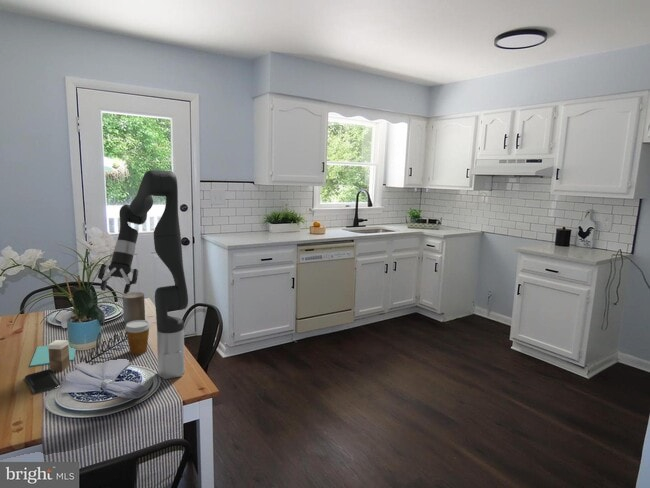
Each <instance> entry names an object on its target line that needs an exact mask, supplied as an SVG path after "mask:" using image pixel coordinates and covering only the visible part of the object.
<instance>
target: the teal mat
mask: <svg viewBox="0 0 650 488" xmlns="http://www.w3.org/2000/svg"><path fill="white" fill-rule="evenodd" d="M69 343H70V342H68V346H69ZM76 350H77V348H76V349H74V348H71V347H70V346H69V361H70V362H73V361H74V360H75V355H76ZM44 365H45V366H46V365H50V364H49V350H48V345H41V346H37V347H36V349H35V352H34V354H33V357H32V359H31V362H30V363H29V367H30V368H31V367H38V366H44Z"/></svg>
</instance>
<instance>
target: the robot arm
mask: <svg viewBox="0 0 650 488" xmlns="http://www.w3.org/2000/svg"><path fill="white" fill-rule="evenodd" d="M178 188H179V187H178V179H177V176H176V174H175V172H173V171H170V170H159V169H156V170H154V169H153V170H148V171H145V173H144V174H143V177H142V179H141V181H140V183H139V186H138V190H137V194H136V195H135V197H134V198H133V199H132V200H131V202H130V204H123V205H122V206H121V207H120V209H119V212H118V213H119V232H118V237H117V241H116V243H115V246H114V248H113V249H114V250H113V254H112V258H111V261H110V264H109V265H108V264H105V263H102V264H101V265H100V268H99V271H98V275H97V278H98V279H99V280H101V284H100V287H99V288H100V290H101V291H104V292H105V291H106V289H107V284H108V281H109V280H110V279H112V278H113V277H114V278H120V279H123V280H124V281H125V282H126V284H125V286H124V290H123V295H124V294H127V293H130V289H131V286H132V285H136V284H137V282H138V281H137V280H138V276H139V270H138V269H137V268H132V265H133V260H134V256H135V251H136V245H137V240H138V236H139V232H138V230H137V229H135V228H134V227H132V226H130V225H129V223H131V224H133V225H134V224H135V225H143V224H145V222H146V221H147V218H148V212H149V211H150V210H151V208H152V207H153V205H154V198H153V197H165V206H164V210H163V212H162V214H161V217H160V218H159V220H158V222H157V224H155V225H156V226H155V228H154V230H153V240H154V241H153V242H154V243H153V245H154V250H155V253H156V255H157V256H158V258H159V259H160V260H161V261H162V263H164V265H165V266H166V268H167V270H169V272H170V274H171V276H172V278H173V281H174V285H167V286H160V287H157V288H156V290H155V292H154V305H155V321H156V336H157V337H156V342H157V343H156V344H157V345H156V347H157V375H158V376H159V377H161V378H162V379H163V380H167V379H169V380H170V379H174V378H180V377H182V376H183V374H184V373H185V323H184V320H183V319H182V318H180V317H175V316H170V315H168V313H170V312H176V311H182V310H185V309H187V307H188V306H189V294H188V288H187V287H188V286H187V282H186V275H185V270H184V263H183V247H182V236H181V229H180V227H181V226H180V219H179V218H180V217H179V197H178V196H179V192H178ZM107 270H109V272H107V273H105V272H106V271H107ZM130 273H131V274H132V278H131V279H130V276H129V274H130Z"/></svg>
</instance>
